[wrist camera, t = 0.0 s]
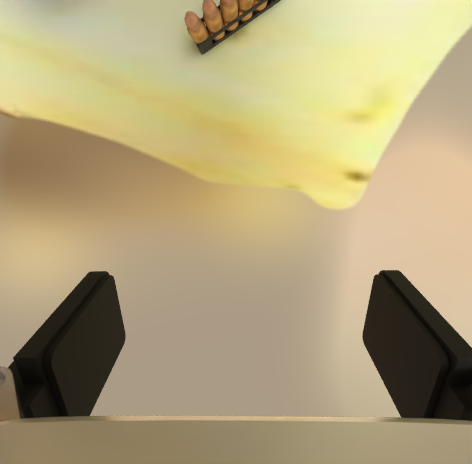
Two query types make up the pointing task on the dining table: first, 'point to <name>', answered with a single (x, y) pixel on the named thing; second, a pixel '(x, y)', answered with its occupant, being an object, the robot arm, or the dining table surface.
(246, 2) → the ammunition clip
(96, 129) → the dining table surface
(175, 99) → the dining table surface
